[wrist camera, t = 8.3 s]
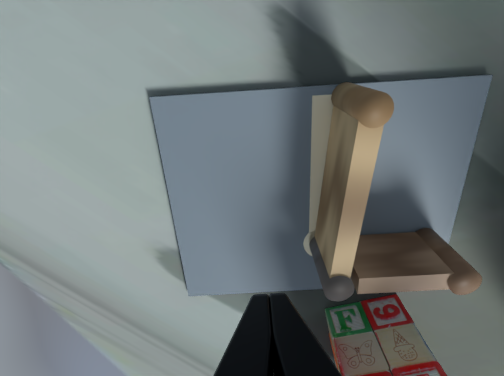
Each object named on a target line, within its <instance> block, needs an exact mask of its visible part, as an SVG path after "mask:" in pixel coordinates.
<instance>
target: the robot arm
mask: <svg viewBox="0 0 504 376" xmlns="http://www.w3.org/2000/svg"><path fill="white" fill-rule="evenodd" d="M214 376H342V375H341V373H340V372H339V370H338V369H337V368H336V366H335V365H334V363H333V362H332V360H331V359H330V357H329V356H328V355H327V353H326V352H325V350H324V349H323V347H322V346H321V344H320V343H319V341H318V340H317V339H316V337H315V336H314V334H313V333H312V331H311V330H310V328H309V327H308V326H307V324H306V323H305V321H304V320H303V318H302V317H301V315H300V314H299V313H298V311H297V310H296V308H295V307H294V305H293V304H292V302H291V301H290V299H289V298H288V297H287V295H286V294H284V293H274V294H270V295H269V296H268V294H255V295H253V296H252V297H251V299H250V301H249V303H248V305H247V307H246V310H245V312H244V314H243V316H242V318H241V320H240V322H239V324H238V326H237V328H236V330H235V332H234V334H233V336H232V338H231V340H230V343H229V345H228V347H227V349H226V351H225V353H224V355H223V357H222V359H221V361H220V363H219V365H218V367H217V369H216V371H215V373H214Z"/></svg>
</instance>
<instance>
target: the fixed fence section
mask: <svg viewBox="0 0 504 376" xmlns="http://www.w3.org/2000/svg"><path fill="white" fill-rule="evenodd" d="M351 280H352V282H353V284H354V287H355V290H356V292H357V294H370V293H388V292H407V291H426V290H445V289H450V290H451V291H452V292H453V293H455V294H458V295H465V294H469V293H471V292H473V291H475V290H476V289H477V288H478V287H479V286H480V284H481V282H482V277H481V275H480V274H479V273H478V272H477V271H476V270H475V269H474V268H473V267H472V266H471V265H470V264H469V263H468V262H467V261H465V260H464V259H463V258H462V257H461V256H460V255H459V254H458V253H457V252H456V251H455V250H454V249H453V248H452V247H451V246H450V245H449V244H448V243H447V242H446V241H444V240H443V239H442V238H441V237H440V236H439V235H438V234H437V233H436V232H435V231H434V230H433V229H431V228H422V229H419V230H418V231H416V232H406V233H388V234H371V235H360V236H359V241H358V246H357V250H356V255H355V259H354V264H353V268H352V273H351Z"/></svg>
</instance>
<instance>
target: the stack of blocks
mask: <svg viewBox="0 0 504 376" xmlns="http://www.w3.org/2000/svg"><path fill="white" fill-rule="evenodd" d="M325 314H326V318H327V323H328V328H329V337H330V342H331V346H332V351H333V355H334V361H335V365H336V368H337V369H338V370H339V372H340V373H341V375H342V376H447V375H446V373H445V372H444V370H443V369H442V367H441V365H440V364H439V363H438V362H437V360H436V358H435V357H434V355H433V354H432V352H431V350H430V349H429V347H428V346H427V344H426V343H425V341H424V339H423V338H422V336H421V334H420V333H419V331H418V329H417V328H416V326H415V324H414V322H413V320H412V318H411V317H410V315H409V313H408V312H407V310H406V309H405V307H404V306H403V304H402V302H401V300H400V299H399V297H398V296H397V294H394V295H389V296H384V297H379V298H374V299H369V300H364V301H360V302H356V303H351V304H346V305H341V306H336V307H330V308H325Z"/></svg>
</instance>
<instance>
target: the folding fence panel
mask: <svg viewBox="0 0 504 376" xmlns="http://www.w3.org/2000/svg"><path fill="white" fill-rule="evenodd" d="M331 101H332V104H333V112H332V119H331V126H330V133H329V140H328V147H327V154H326V161H325V167H324V174H323V181H322V188H321V195H320V202H319V209H318V216H317V223H316V230H315V236H314V237H313V238H312V239H311V241H310V243H309V247H310V250H311V253H312V256H313V260H314V263H315V266H316V269H317V272H318V276H319V279H320V282H321V285H322V288H323V291H324V294H325V296H326V297H327V298H328V299H329V300H331V301H343V300H346V299H348V298H349V297H350V296H351V295H352V294H353V293H354V289H355V287H354V284H353V282H352V280H351V273H352V268H353V264H354V259H355V255H356V250H357V246H358V241H359V236H360V232H361V227H362V223H363V218H364V214H365V209H366V205H367V200H368V196H369V191H370V186H371V182H372V177H373V173H374V168H375V164H376V159H377V155H378V150H379V145H380V141H381V136H382V132H383V127H384V124H386V123H387V122H388V121H389V120H390V118H391V116H392V114H393V112H394V102H393V99H392V98H391V96H390V95H388V94H387V93H385V92H382V91H378V90H375V89H371V88H367V87H364V86H360V85H357V84H353V83H350V82H344V83H341V84H339V85H338V86H336V87H335V89H334V90H333V92H332V96H331Z"/></svg>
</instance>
